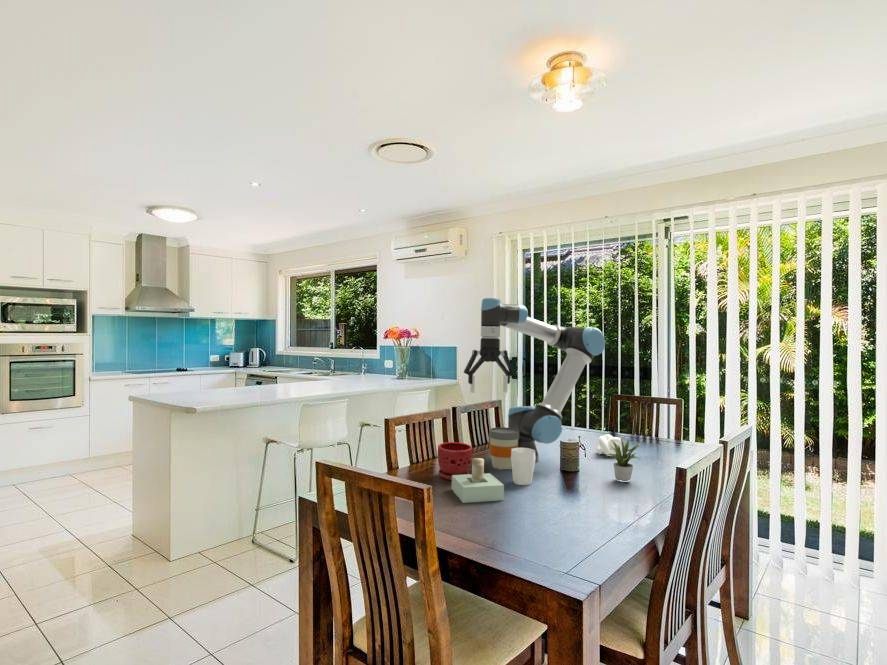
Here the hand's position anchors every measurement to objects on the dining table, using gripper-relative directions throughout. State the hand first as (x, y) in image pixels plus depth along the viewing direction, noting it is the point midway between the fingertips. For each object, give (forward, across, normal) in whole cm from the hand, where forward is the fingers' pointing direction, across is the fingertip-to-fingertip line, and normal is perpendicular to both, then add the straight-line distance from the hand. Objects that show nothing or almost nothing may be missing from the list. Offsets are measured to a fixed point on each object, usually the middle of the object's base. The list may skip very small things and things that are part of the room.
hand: (488, 392), depth 201 cm
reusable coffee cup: (+32, +10, +8) cm, 34 cm away
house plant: (+32, +48, -20) cm, 61 cm away
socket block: (+32, -12, -24) cm, 41 cm away
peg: (+32, -12, -24) cm, 42 cm away
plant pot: (+32, -14, -3) cm, 35 cm away
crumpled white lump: (+32, +65, +19) cm, 75 cm away
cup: (+32, +9, -14) cm, 36 cm away
